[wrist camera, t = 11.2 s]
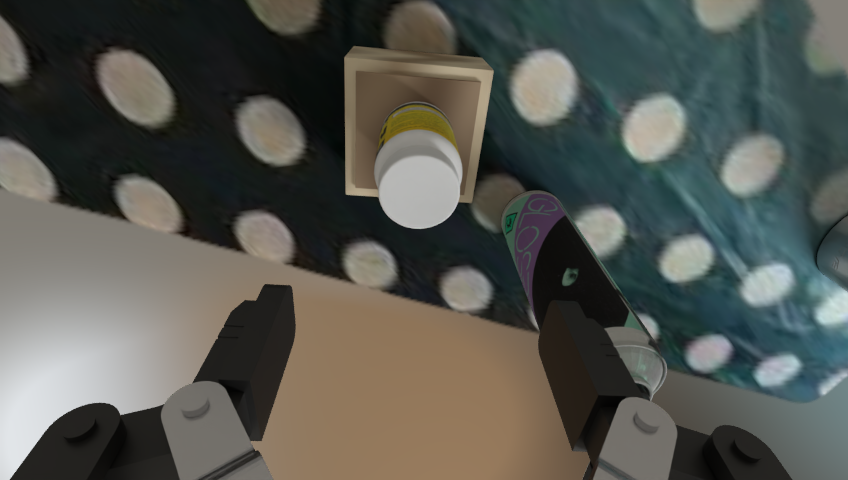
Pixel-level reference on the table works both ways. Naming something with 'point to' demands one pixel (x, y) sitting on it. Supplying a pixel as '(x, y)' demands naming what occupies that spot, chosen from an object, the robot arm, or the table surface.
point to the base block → (412, 82)
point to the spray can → (576, 281)
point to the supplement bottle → (418, 166)
